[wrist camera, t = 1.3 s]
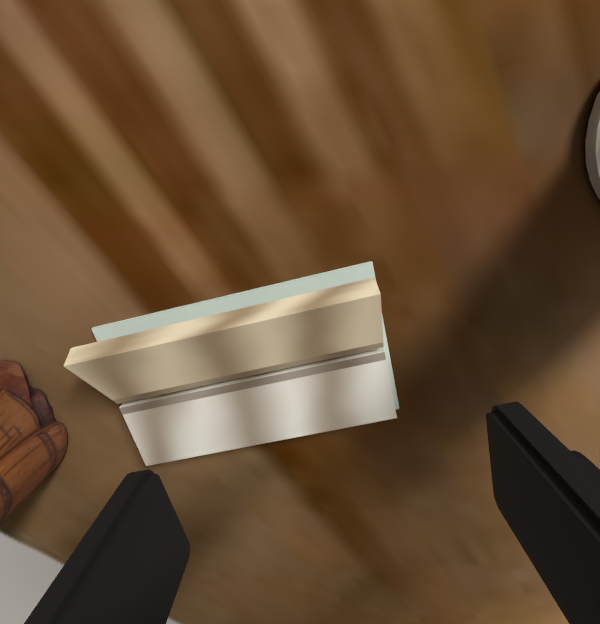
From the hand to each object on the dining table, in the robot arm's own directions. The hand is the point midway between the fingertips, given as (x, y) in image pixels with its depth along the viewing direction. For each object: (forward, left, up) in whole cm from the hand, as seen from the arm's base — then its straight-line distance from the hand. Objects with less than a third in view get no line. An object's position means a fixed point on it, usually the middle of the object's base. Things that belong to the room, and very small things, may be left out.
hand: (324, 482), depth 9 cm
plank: (+6, -1, -14) cm, 15 cm away
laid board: (+7, +5, -16) cm, 18 cm away
